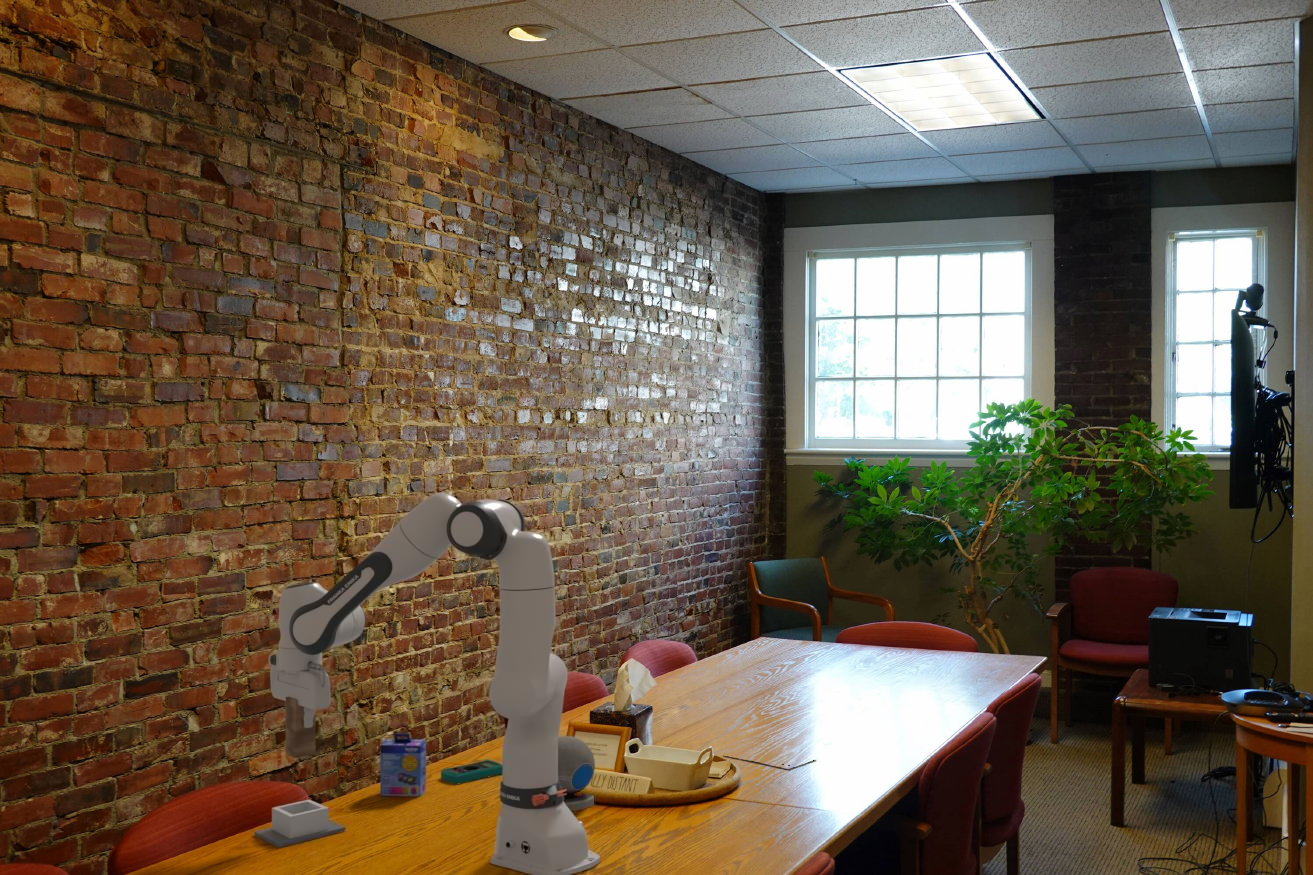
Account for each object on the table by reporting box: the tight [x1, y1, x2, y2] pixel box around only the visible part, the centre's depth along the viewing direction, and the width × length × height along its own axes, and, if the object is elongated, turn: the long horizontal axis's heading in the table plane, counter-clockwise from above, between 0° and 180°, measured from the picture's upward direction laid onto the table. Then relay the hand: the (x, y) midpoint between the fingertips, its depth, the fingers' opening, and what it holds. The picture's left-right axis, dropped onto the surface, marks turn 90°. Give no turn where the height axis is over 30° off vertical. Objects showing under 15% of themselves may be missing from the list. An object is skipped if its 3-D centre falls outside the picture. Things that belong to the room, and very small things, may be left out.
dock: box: [253, 799, 347, 849], centre depth 242 cm, size 11×15×5 cm
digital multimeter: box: [440, 759, 503, 785], centre depth 286 cm, size 7×15×3 cm, turn 132°
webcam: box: [558, 735, 596, 812], centre depth 263 cm, size 13×13×15 cm
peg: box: [285, 697, 317, 759], centre depth 243 cm, size 4×4×12 cm
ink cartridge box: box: [379, 733, 427, 798], centre depth 271 cm, size 10×6×14 cm, turn 88°
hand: (300, 724), depth 243 cm, fingers closed on peg, 4 cm apart
